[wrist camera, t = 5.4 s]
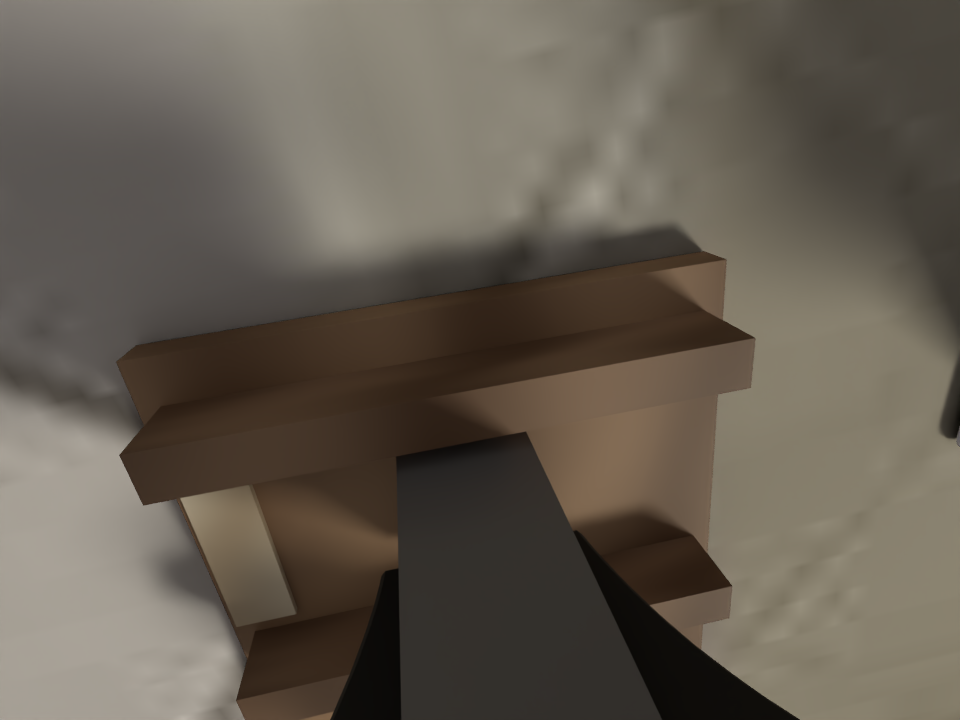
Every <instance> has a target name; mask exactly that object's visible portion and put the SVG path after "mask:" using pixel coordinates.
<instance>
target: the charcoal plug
mask: <svg viewBox="0 0 960 720" xmlns="http://www.w3.org/2000/svg"><path fill="white" fill-rule="evenodd" d="M396 465H397V517H398V568H399V619H400V670H401V720H662V719H661V717H660V714H659V712H658V710H657V708H656V706H655V704H654V702H653V700H652V697H651V695H650V693H649V691H648V689H647V687H646V685H645V683H644V680H643V678H642V676H641V674H640V672H639V670H638V668H637V666H636V664H635V661H634V659H633V657H632V655H631V653H630V651H629V649H628V647H627V644H626V642H625V640H624V638H623V636H622V634H621V632H620V630H619V627H618V625H617V623H616V621H615V619H614V617H613V615H612V613H611V610H610V608H609V606H608V604H607V602H606V600H605V598H604V596H603V594H602V591H601V589H600V587H599V585H598V583H597V581H596V579H595V577H594V574H593V572H592V570H591V568H590V566H589V564H588V562H587V560H586V557H585V555H584V553H583V551H582V549H581V547H580V545H579V543H578V541H577V538H576V536H575V534H574V532H573V530H572V528H571V526H570V524H569V521H568V519H567V517H566V515H565V513H564V511H563V509H562V507H561V504H560V502H559V500H558V498H557V496H556V494H555V492H554V490H553V488H552V485H551V483H550V481H549V479H548V477H547V475H546V473H545V471H544V468H543V466H542V464H541V462H540V460H539V458H538V456H537V454H536V451H535V449H534V447H533V445H532V443H531V441H530V439H529V437H528V435H527V432H526V431H525V432H520V433H515V434H510V435H505V436H500V437H494V438H489V439H484V440H479V441H474V442H469V443H463V444H458V445H453V446H448V447H443V448H438V449H432V450H427V451H422V452H417V453H412V454H407V455H401V456H396Z"/></svg>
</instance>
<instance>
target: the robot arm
mask: <svg viewBox="0 0 960 720" xmlns="http://www.w3.org/2000/svg"><path fill="white" fill-rule="evenodd" d="M956 442H957V444H958V446H959V447H960V427H959V431H958V434H957V441H956ZM573 532H574V534H575V536H576V538H577V541H578V543H579V545H580V547H581V549H582V551H583V553H584V555H585V557H586V560H587V562H588V564H589V566H590V568H591V570H592V572H593V574H594V577H595V579H596V581H597V583H598V585H599V587H600V589H601V591H602V594H603V596H604V598H605V600H606V602H607V604H608V606H609V608H610V610H611V613H612V615H613V617H614V619H615V621H616V623H617V625H618V627H619V630H620V632H621V634H622V636H623V638H624V640H625V642H626V644H627V647H628V649H629V651H630V653H631V655H632V657H633V659H634V661H635V664H636V666H637V668H638V670H639V672H640V674H641V676H642V678H643V680H644V683H645V685H646V687H647V689H648V691H649V693H650V695H651V697H652V700H653V702H654V704H655V706H656V708H657V710H658V712H659V714H660V717H661V719H662V720H800V719H798V718H796V717H795V716H793V715H792V714H790V713H789V712H787V711H786V710H784V709H783V708H781V707H779V706H778V705H776V704H775V703H773V702H772V701H770V700H769V699H767V698H766V697H764V696H763V695H761V694H760V693H758V692H757V691H756V690H754V689H753V688H751V687H750V686H749V685H747V684H746V683H744V682H743V681H742V680H740V679H739V678H737V677H736V676H735V675H733V674H732V673H730V672H729V671H728V670H727V669H725V668H724V667H723V666H721V665H720V664H719V663H717V662H716V661H715V660H713V659H712V658H711V657H710V656H708V655H707V654H706V653H704V652H703V651H702V650H701V649H700V648H698V647H697V646H696V645H695V644H693V643H692V642H691V641H690V640H689V639H687V638H686V637H685V636H684V635H683V634H681V633H680V632H679V631H678V630H677V629H676V628H675V627H673V626H672V625H671V624H670V623H669V622H668V621H666V620H665V619H664V618H663V617H662V616H661V615H660V614H659V613H658V612H657V611H655V610H654V609H653V608H652V607H651V606H650V605H649V604H648V603H647V602H646V601H645V600H644V599H643V598H642V597H641V596H640V595H639V594H638V593H637V592H635V591H634V590H633V589H632V588H631V587H630V586H629V585H628V584H627V583H626V582H625V581H624V580H623V579H622V578H621V577H620V576H619V575H618V574H617V573H616V571H615V570H614V569H613V568H612V567H611V566H610V565H609V564H608V563H607V562H606V561H605V560H604V559H603V558H602V557H601V555H600V554H599V553H598V552H597V551H596V550H595V549H594V548H593V546H592V545H591V544H590V543H589V542H588V541H587V539H586V538H585V537H584V536H583V535H582V533H580V532H578V531H577V530H575V531H573ZM330 720H401V670H400V619H399V568H397V569H392V570H388V571H385V572H384V573H383V575H382V576H381V579H380V584H379V588H378V592H377V596H376V600H375V603H374V607H373V610H372V613H371V616H370V619H369V622H368V626H367V629H366V632H365V634H364V637H363V640H362V643H361V645H360V648H359V651H358V653H357V656H356V659H355V662H354V664H353V667H352V669H351V672H350V675H349V677H348V679H347V682H346V684H345V686H344V689H343V691H342V693H341V696H340V698H339V700H338V703H337V705H336V707H335V710H334V712H333V714H332V716H331V719H330Z"/></svg>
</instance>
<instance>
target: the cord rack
mask: <svg viewBox="0 0 960 720" xmlns="http://www.w3.org/2000/svg"><path fill="white" fill-rule="evenodd" d="M725 276H726V259H724V258H721V257H718V256H715V255H713V254H710V253H707V252H704V251H703V252H697V253H691V254H685V255H679V256H673V257H667V258H661V259H655V260H649V261H643V262H637V263H631V264H625V265H619V266H613V267H607V268H601V269H595V270H589V271H583V272H576V273H570V274H564V275H558V276H552V277H546V278H540V279H534V280H528V281H522V282H516V283H510V284H504V285H498V286H492V287H486V288H480V289H474V290H468V291H462V292H456V293H450V294H444V295H438V296H432V297H425V298H419V299H413V300H407V301H401V302H395V303H389V304H383V305H377V306H371V307H365V308H359V309H353V310H347V311H341V312H335V313H329V314H323V315H317V316H311V317H305V318H299V319H293V320H287V321H281V322H274V323H268V324H262V325H256V326H250V327H244V328H238V329H232V330H226V331H220V332H214V333H208V334H202V335H196V336H190V337H184V338H178V339H172V340H166V341H160V342H154V343H148V344H142V345H136V346H135V347H134V348H133V349H131V350H130V351H129V352H128V353H126V354H125V355H124V356H123V357H122V358H120V359H119V360H118V361H117V362H116V363H117V365H118V368H119V370H120V372H121V374H122V377H123V379H124V381H125V383H126V386H127V388H128V390H129V393H130V395H131V397H132V399H133V402H134V404H135V406H136V408H137V411H138V413H139V415H140V417H141V420H142V422H143V424H144V427H143V428H142V429H141V430H140V431H139V433H138V434H137V435H136V436H135V437H134V438H133V440H132V441H131V442H130V443H129V444H128V445H127V447H126V448H125V449H124V450H123V451H122V453H121V454H120V455H119V456H120V458H121V460H122V462H123V464H124V466H125V468H126V470H127V472H128V474H129V477H130V479H131V481H132V483H133V485H134V487H135V489H136V491H137V493H138V495H139V498H140V500H141V502H142V504H143V505H148V504H153V503H158V502H163V501H169V500H174V499H177V501H178V504H179V506H180V508H181V510H182V513H183V515H184V517H185V519H186V522H187V524H188V526H189V528H190V531H191V533H192V535H193V538H194V540H195V542H196V544H197V547H198V549H199V551H200V553H201V556H202V558H203V560H204V562H205V565H206V567H207V569H208V572H209V574H210V576H211V578H212V581H213V583H214V585H215V587H216V590H217V592H218V594H219V596H220V599H221V601H222V603H223V606H224V608H225V610H226V612H227V615H228V617H229V619H230V621H231V624H232V626H233V628H234V630H235V633H236V635H237V637H238V640H239V642H240V644H241V646H242V649H243V651H244V653H245V655H246V658H247V662H246V666H245V670H244V673H243V677H242V681H241V685H240V688H239V692H238V696H237V699H236V701H237V704H238V706H239V708H240V710H241V712H242V714H243V716H244V718H245V720H330V719H331V716H332V714H333V712H334V710H335V707H336V705H337V703H338V700H339V698H340V696H341V693H342V691H343V689H344V686H345V684H346V682H347V679H348V677H349V675H350V672H351V669H352V667H353V664H354V662H355V659H356V656H357V653H358V651H359V648H360V645H361V643H362V640H363V637H364V634H365V632H366V629H367V626H368V622H369V619H370V616H371V613H372V610H373V607H374V603H375V600H376V596H377V592H378V588H379V584H380V579H381V576H382V575H383V573H384V572H385V571H388V570H392V569H397V568H398V517H397V465H396V456H401V455H407V454H412V453H417V452H422V451H427V450H432V449H438V448H443V447H448V446H453V445H458V444H463V443H469V442H474V441H479V440H484V439H489V438H494V437H500V436H505V435H510V434H515V433H520V432H525V431H526V432H527V435H528V437H529V439H530V441H531V443H532V445H533V447H534V449H535V451H536V454H537V456H538V458H539V460H540V462H541V464H542V466H543V468H544V471H545V473H546V475H547V477H548V479H549V481H550V483H551V485H552V488H553V490H554V492H555V494H556V496H557V498H558V500H559V502H560V504H561V507H562V509H563V511H564V513H565V515H566V517H567V519H568V521H569V524H570V526H571V528H572V530H573V531H575V530H577V531H578V532H580V533H582V535H583V536H584V537H585V538H586V539H587V541H588V542H589V543H590V544H591V545H592V546H593V548H594V549H595V550H596V551H597V552H598V553H599V554H600V555H601V557H602V558H603V559H604V560H605V561H606V562H607V563H608V564H609V565H610V566H611V567H612V568H613V569H614V570H615V571H616V573H617V574H618V575H619V576H620V577H621V578H622V579H623V580H624V581H625V582H626V583H627V584H628V585H629V586H630V587H631V588H632V589H633V590H634V591H635V592H637V593H638V594H639V595H640V596H641V597H642V598H643V599H644V600H645V601H646V602H647V603H648V604H649V605H650V606H651V607H652V608H653V609H654V610H655V611H657V612H658V613H659V614H660V615H661V616H662V617H663V618H664V619H665V620H666V621H668V622H669V623H670V624H671V625H672V626H673V627H675V628H676V629H677V630H678V631H679V632H680V633H681V634H683V635H684V636H685V637H686V638H687V639H689V640H690V641H691V642H692V643H693V644H695V645H696V646H697V647H698V648H700V649H701V643H702V628H703V624H706V623H710V622H714V621H719V620H723V619H727V618H729V616H730V606H731V595H732V585H731V584H730V582H729V581H728V580H727V579H726V577H725V576H724V575H723V573H722V572H721V571H720V569H719V568H718V567H717V565H716V564H715V563H714V562H713V560H712V559H711V558H710V556H709V555H708V554H707V551H708V536H709V521H710V506H711V490H712V475H713V460H714V444H715V429H716V414H717V398H718V394H722V393H727V392H732V391H737V390H743V389H748V388H751V381H752V370H753V359H754V348H755V338H754V337H752V336H751V335H749V334H747V333H745V332H743V331H742V330H740V329H738V328H736V327H734V326H732V325H731V324H729V323H727V322H725V321H723V306H724V291H725Z"/></svg>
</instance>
